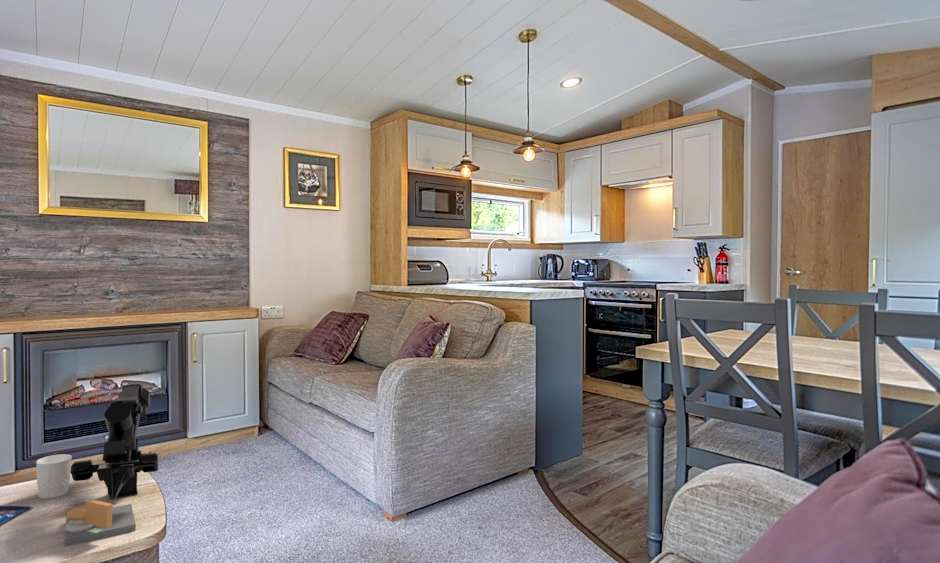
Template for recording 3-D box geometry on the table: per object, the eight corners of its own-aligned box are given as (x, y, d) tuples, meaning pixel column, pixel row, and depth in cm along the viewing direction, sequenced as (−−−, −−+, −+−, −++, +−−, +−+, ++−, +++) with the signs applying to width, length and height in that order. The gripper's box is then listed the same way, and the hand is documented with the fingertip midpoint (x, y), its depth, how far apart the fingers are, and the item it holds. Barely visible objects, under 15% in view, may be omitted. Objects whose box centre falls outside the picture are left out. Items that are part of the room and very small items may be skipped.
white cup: (31, 501, 143) (32, 465, 143) (39, 491, 150) (40, 456, 150) (67, 497, 146) (68, 461, 146) (73, 486, 153) (74, 452, 153)
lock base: (131, 509, 140) (131, 494, 140) (135, 530, 128) (136, 514, 128) (66, 522, 131) (66, 506, 131) (64, 547, 120) (65, 529, 120)
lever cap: (61, 523, 125) (62, 501, 125) (83, 514, 130) (84, 492, 130) (98, 532, 121) (99, 509, 121) (119, 522, 126) (120, 500, 126)
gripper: (72, 430, 132) (61, 490, 122) (158, 423, 140) (154, 478, 130) (79, 451, 139) (68, 510, 129) (160, 443, 147) (156, 497, 137)
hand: (112, 498), depth 131 cm, fingers closed
